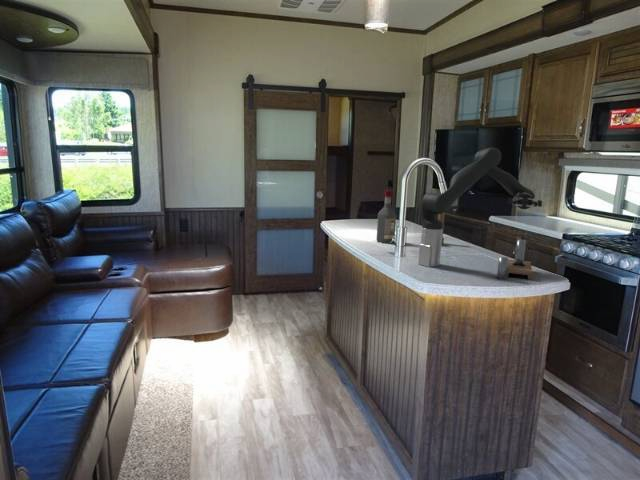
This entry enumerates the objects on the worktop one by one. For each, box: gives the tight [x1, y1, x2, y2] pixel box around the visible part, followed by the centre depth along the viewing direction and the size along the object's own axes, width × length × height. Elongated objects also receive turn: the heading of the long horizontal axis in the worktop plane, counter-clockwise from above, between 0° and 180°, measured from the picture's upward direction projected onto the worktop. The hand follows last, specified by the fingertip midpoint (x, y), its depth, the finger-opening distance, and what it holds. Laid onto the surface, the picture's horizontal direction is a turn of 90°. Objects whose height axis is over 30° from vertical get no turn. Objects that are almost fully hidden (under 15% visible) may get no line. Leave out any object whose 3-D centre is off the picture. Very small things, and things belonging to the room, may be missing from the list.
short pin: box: [496, 256, 509, 281], centre depth 187 cm, size 4×4×9 cm
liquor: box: [376, 189, 397, 244], centre depth 258 cm, size 9×9×30 cm
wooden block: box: [437, 212, 446, 245], centre depth 258 cm, size 4×11×18 cm, turn 113°
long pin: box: [513, 239, 527, 275], centre depth 196 cm, size 4×4×15 cm
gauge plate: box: [506, 259, 533, 281], centre depth 197 cm, size 18×10×4 cm, turn 157°
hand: (525, 203), depth 201 cm, fingers open, 8 cm apart
